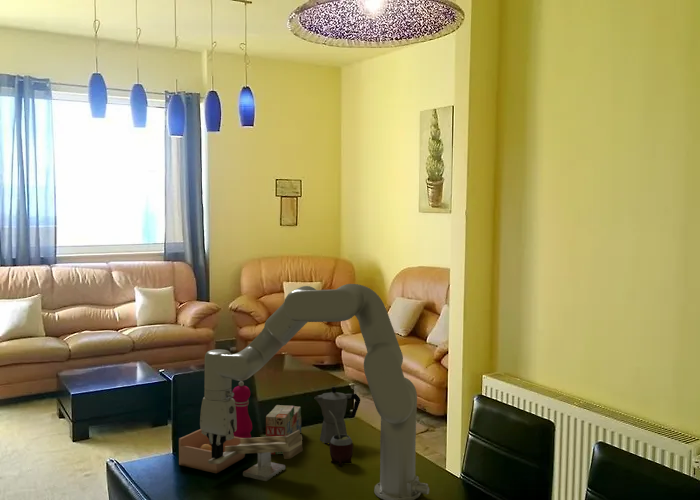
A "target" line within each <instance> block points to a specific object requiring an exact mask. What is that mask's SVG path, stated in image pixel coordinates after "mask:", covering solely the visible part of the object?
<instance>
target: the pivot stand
mask: <svg viewBox="0 0 700 500" xmlns="http://www.w3.org/2000/svg"><path fill="white" fill-rule="evenodd" d="M282 470H283V471H285V470H286V464H283V463H276V462H274V461H273V462H272V454H271V452H266V453H257V463H256V464H254V465H252V466H251V467H249V468H248V469H245V470H243V471H242V477H246V478H251V479H254V480H259V481H262V482H263V481H264V482H267V481H269V480H270V479H272V478H274V477H275V476H276V474H277V475H279V474H280V473H281V472H283V471H282ZM279 472H280V473H279ZM273 476H274V477H273Z"/></svg>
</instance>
